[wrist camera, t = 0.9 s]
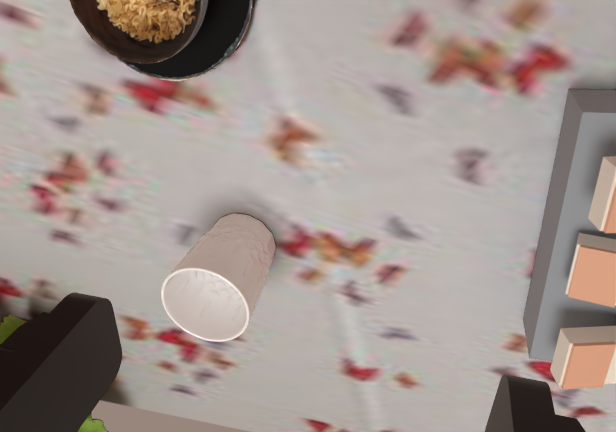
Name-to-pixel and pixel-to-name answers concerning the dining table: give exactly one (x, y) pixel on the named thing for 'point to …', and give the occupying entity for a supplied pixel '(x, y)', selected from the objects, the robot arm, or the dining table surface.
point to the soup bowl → (167, 33)
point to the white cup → (220, 279)
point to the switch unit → (570, 221)
